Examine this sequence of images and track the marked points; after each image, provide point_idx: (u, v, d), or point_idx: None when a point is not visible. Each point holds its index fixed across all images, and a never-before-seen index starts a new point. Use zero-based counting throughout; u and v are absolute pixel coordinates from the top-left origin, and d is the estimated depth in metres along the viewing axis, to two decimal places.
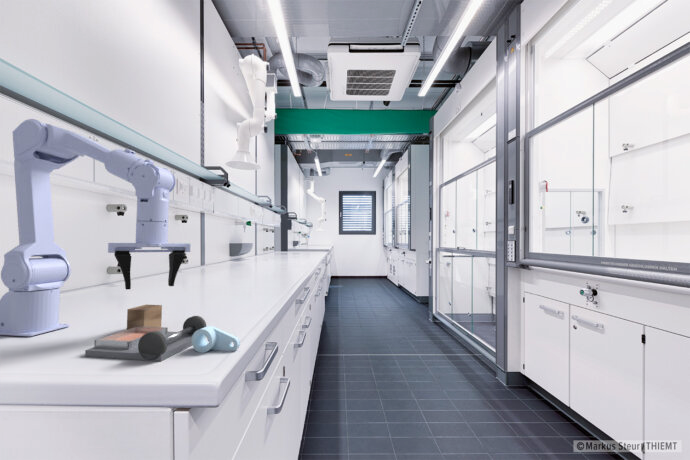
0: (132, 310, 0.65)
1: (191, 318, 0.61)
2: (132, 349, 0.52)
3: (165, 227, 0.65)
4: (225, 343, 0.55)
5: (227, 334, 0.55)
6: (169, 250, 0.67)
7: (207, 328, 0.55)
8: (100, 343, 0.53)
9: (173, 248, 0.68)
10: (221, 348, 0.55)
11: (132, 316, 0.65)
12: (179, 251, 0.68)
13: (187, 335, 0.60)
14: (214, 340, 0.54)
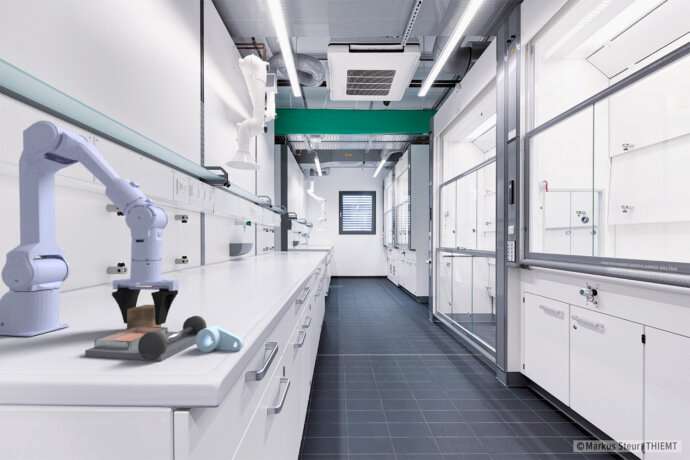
0: (132, 310, 0.65)
1: (191, 318, 0.61)
2: (132, 349, 0.52)
3: (147, 266, 0.66)
4: (229, 343, 0.55)
5: (231, 334, 0.55)
6: (158, 288, 0.67)
7: (211, 328, 0.55)
8: (100, 343, 0.53)
9: (161, 286, 0.67)
10: (225, 348, 0.55)
11: (132, 316, 0.65)
12: (164, 289, 0.66)
13: (187, 335, 0.60)
14: (217, 340, 0.55)
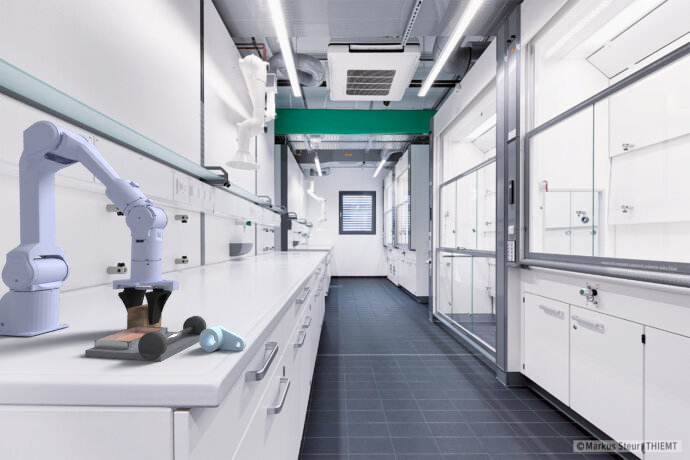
0: (132, 310, 0.65)
1: (191, 318, 0.61)
2: (132, 349, 0.52)
3: (147, 266, 0.66)
4: (232, 342, 0.55)
5: (234, 334, 0.56)
6: (158, 288, 0.67)
7: (214, 328, 0.55)
8: (100, 343, 0.53)
9: (161, 286, 0.67)
10: (228, 348, 0.55)
11: (132, 316, 0.65)
12: (157, 289, 0.66)
13: (187, 335, 0.60)
14: (220, 339, 0.55)
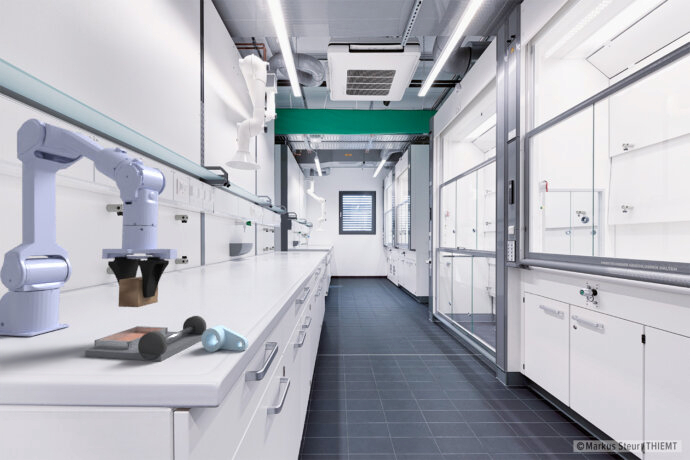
0: (125, 281, 0.58)
1: (191, 318, 0.61)
2: (132, 349, 0.52)
3: (141, 231, 0.58)
4: (234, 342, 0.55)
5: (236, 334, 0.56)
6: (153, 257, 0.60)
7: (216, 327, 0.55)
8: (100, 343, 0.53)
9: (157, 254, 0.60)
10: (230, 348, 0.55)
11: (125, 287, 0.58)
12: (152, 258, 0.59)
13: (187, 335, 0.60)
14: (222, 339, 0.55)
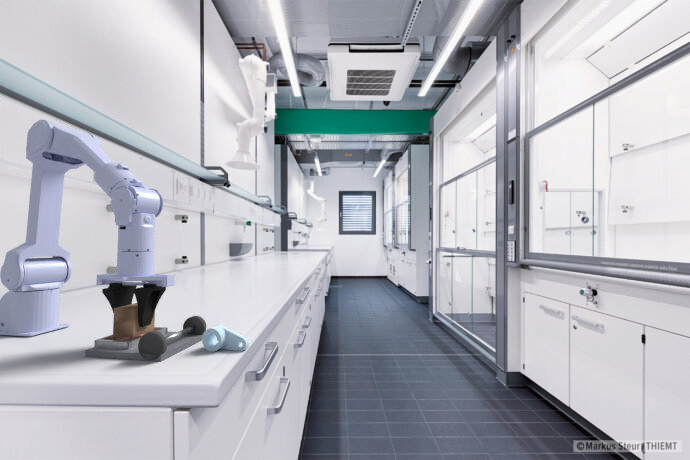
0: (119, 309, 0.55)
1: (191, 318, 0.61)
2: (132, 349, 0.52)
3: (137, 257, 0.56)
4: (234, 342, 0.55)
5: (236, 334, 0.56)
6: (149, 284, 0.57)
7: (217, 327, 0.55)
8: (100, 343, 0.53)
9: (153, 281, 0.57)
10: (230, 348, 0.55)
11: (119, 316, 0.55)
12: (149, 285, 0.56)
13: (187, 335, 0.60)
14: (223, 339, 0.55)
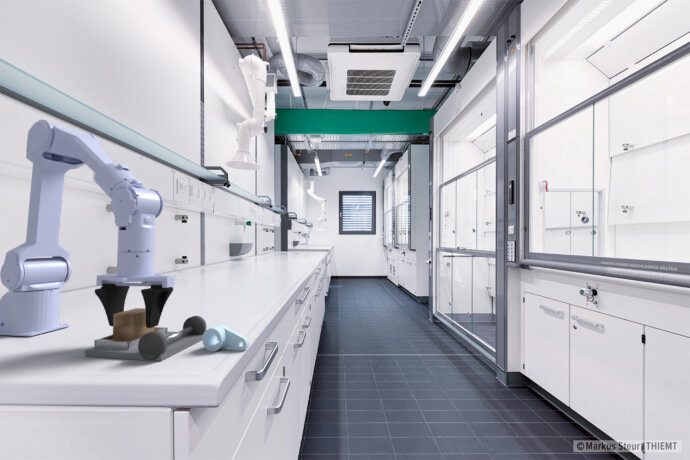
0: (119, 315, 0.55)
1: (191, 318, 0.61)
2: (132, 349, 0.52)
3: (137, 258, 0.56)
4: (235, 342, 0.55)
5: (236, 334, 0.56)
6: (149, 284, 0.57)
7: (217, 327, 0.56)
8: (100, 343, 0.53)
9: (153, 282, 0.57)
10: (231, 347, 0.55)
11: (119, 322, 0.55)
12: (156, 286, 0.56)
13: (187, 335, 0.60)
14: (223, 339, 0.55)
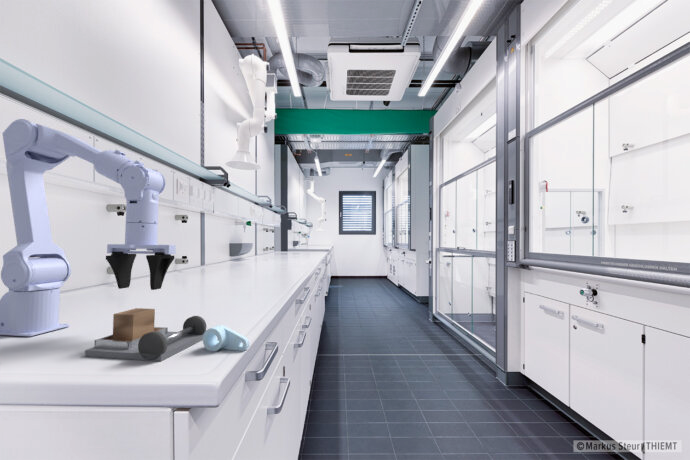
0: (119, 315, 0.55)
1: (191, 318, 0.61)
2: (132, 349, 0.52)
3: (142, 228, 0.63)
4: (235, 342, 0.55)
5: (237, 334, 0.56)
6: (153, 252, 0.64)
7: (217, 327, 0.56)
8: (100, 343, 0.53)
9: (157, 250, 0.64)
10: (231, 348, 0.55)
11: (119, 322, 0.55)
12: (159, 253, 0.64)
13: (187, 335, 0.60)
14: (224, 339, 0.55)
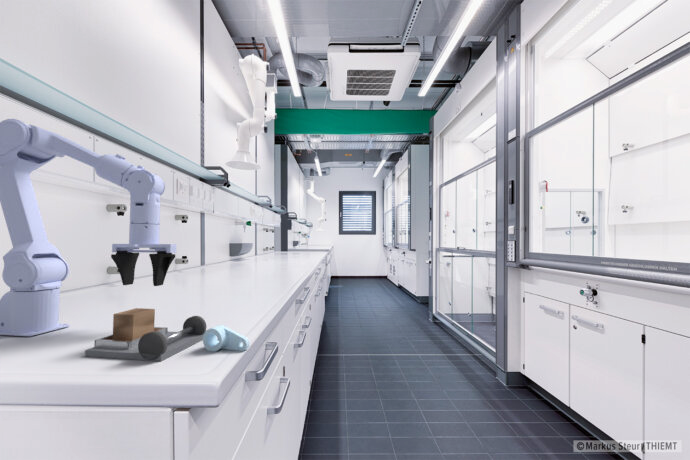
0: (119, 315, 0.55)
1: (191, 318, 0.61)
2: (132, 349, 0.52)
3: (145, 228, 0.68)
4: (235, 342, 0.55)
5: (237, 334, 0.56)
6: (156, 251, 0.69)
7: (217, 327, 0.56)
8: (100, 343, 0.53)
9: (159, 249, 0.69)
10: (231, 348, 0.55)
11: (119, 322, 0.55)
12: (161, 252, 0.68)
13: (187, 335, 0.60)
14: (224, 339, 0.55)
